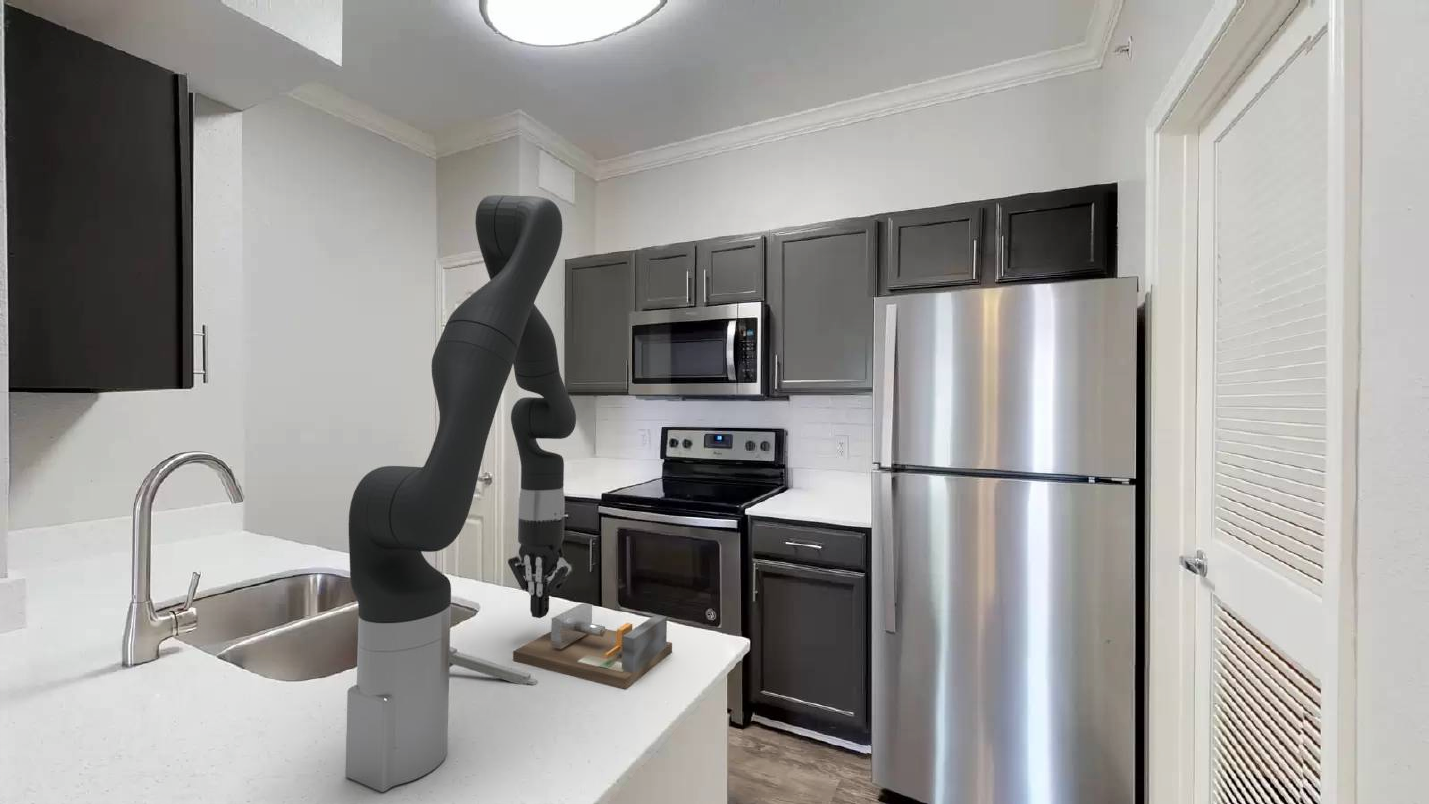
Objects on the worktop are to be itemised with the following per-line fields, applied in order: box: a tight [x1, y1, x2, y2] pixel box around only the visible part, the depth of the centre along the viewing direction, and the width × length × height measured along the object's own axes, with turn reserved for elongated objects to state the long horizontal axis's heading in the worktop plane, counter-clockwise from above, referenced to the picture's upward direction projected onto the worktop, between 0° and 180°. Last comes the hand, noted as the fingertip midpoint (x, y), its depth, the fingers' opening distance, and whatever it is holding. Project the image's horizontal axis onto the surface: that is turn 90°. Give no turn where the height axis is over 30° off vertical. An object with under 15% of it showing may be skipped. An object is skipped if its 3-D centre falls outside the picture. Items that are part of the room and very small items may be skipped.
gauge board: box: [512, 614, 673, 690], centre depth 92 cm, size 14×21×6 cm, turn 66°
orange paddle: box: [605, 622, 633, 659], centre depth 89 cm, size 6×1×3 cm, turn 156°
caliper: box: [449, 646, 539, 686], centre depth 85 cm, size 20×1×6 cm, turn 81°
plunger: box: [550, 602, 606, 649], centre depth 93 cm, size 8×7×4 cm
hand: (539, 616), depth 97 cm, fingers closed
